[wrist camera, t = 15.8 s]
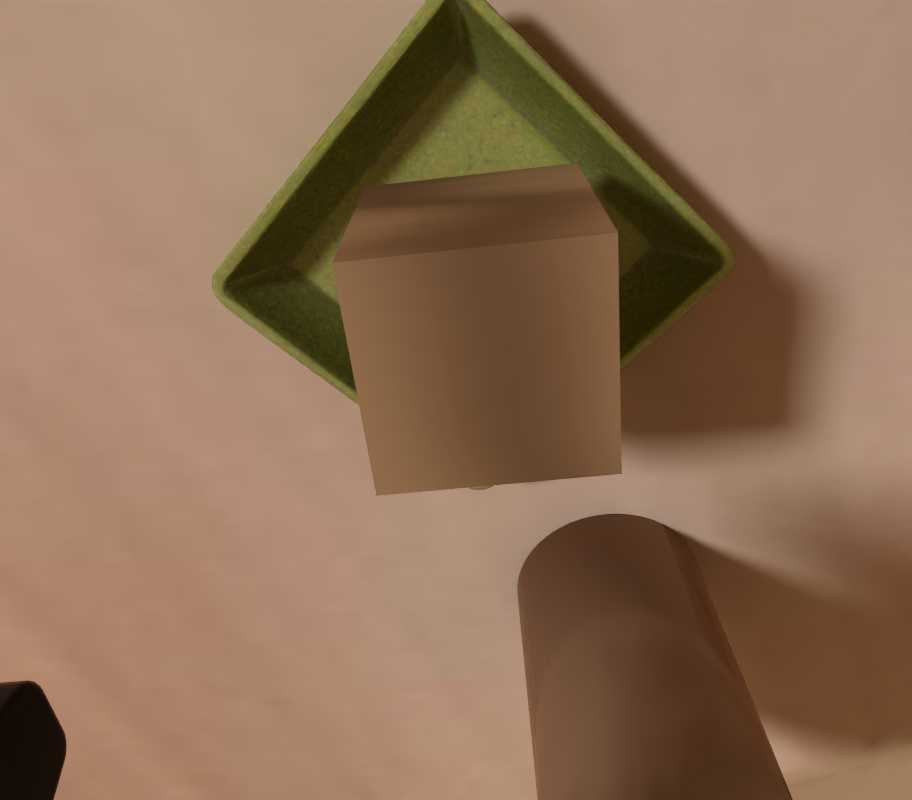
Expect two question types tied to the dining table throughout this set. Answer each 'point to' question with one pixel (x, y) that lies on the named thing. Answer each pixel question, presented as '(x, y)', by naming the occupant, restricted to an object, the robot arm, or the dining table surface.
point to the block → (484, 329)
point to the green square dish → (457, 154)
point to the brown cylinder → (634, 672)
